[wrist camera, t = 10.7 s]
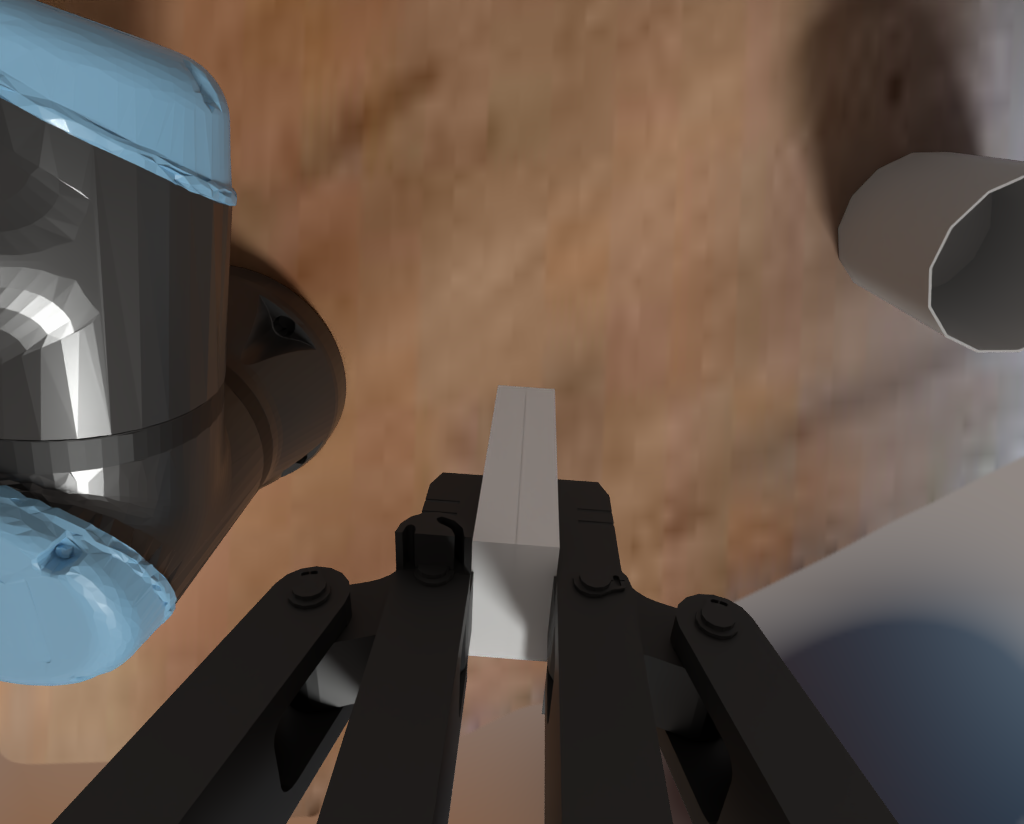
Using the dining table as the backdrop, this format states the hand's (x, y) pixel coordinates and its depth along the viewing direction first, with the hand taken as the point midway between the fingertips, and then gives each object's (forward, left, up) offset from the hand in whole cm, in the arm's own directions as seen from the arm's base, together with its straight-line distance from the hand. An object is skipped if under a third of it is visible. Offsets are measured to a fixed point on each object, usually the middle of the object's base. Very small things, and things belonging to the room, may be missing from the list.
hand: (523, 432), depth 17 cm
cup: (+22, +3, -25) cm, 33 cm away
